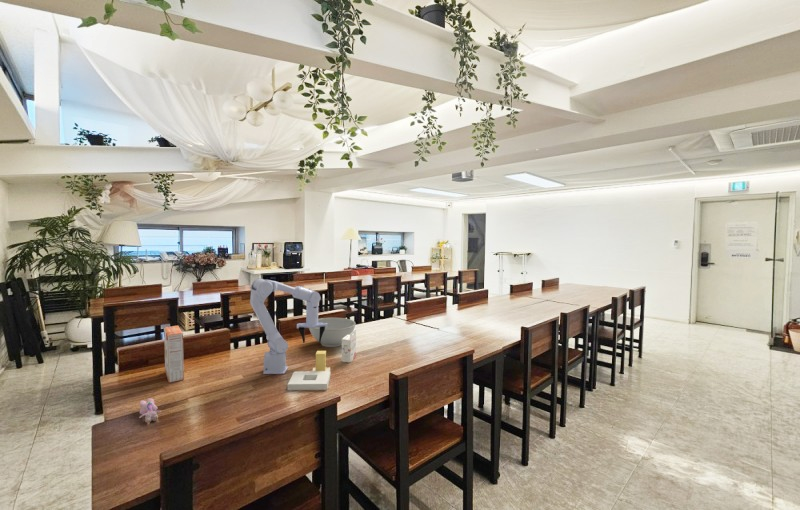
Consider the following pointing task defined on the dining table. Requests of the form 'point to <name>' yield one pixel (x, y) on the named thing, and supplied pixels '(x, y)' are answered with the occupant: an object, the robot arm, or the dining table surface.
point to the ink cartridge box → (349, 347)
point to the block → (321, 361)
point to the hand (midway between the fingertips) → (311, 342)
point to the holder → (309, 380)
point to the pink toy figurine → (149, 411)
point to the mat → (326, 369)
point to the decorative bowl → (333, 331)
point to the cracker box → (173, 353)
